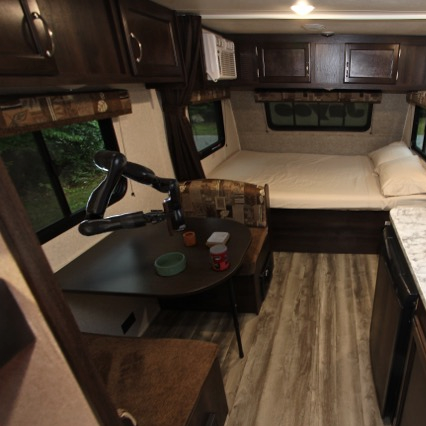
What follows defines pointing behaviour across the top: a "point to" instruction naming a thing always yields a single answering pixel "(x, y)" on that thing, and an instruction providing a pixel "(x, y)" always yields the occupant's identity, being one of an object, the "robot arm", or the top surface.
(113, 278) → the top surface
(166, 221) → the stick
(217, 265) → the canned food
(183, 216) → the robot arm
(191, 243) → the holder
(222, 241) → the soap dish
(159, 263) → the bowl
